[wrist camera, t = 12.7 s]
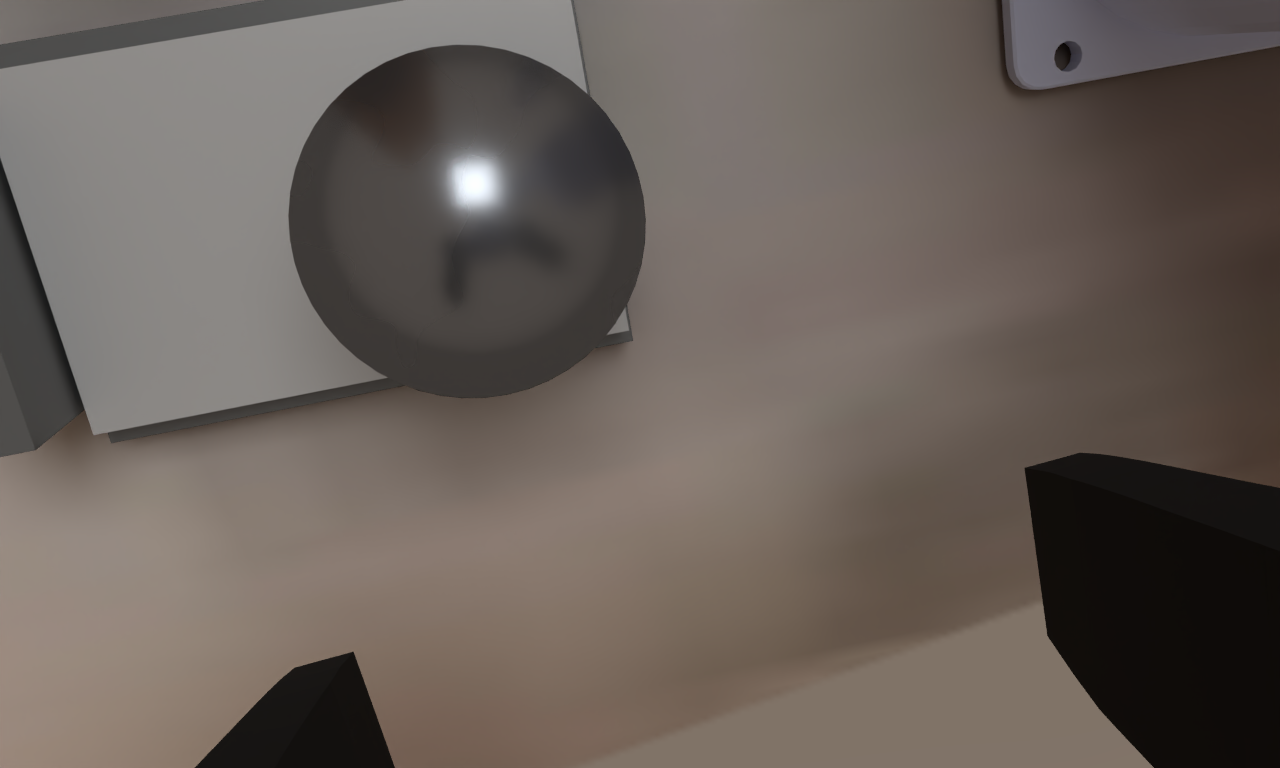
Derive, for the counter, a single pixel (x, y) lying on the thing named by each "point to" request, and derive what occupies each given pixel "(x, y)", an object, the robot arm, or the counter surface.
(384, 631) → the counter surface
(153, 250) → the dial scale
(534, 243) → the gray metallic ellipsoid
